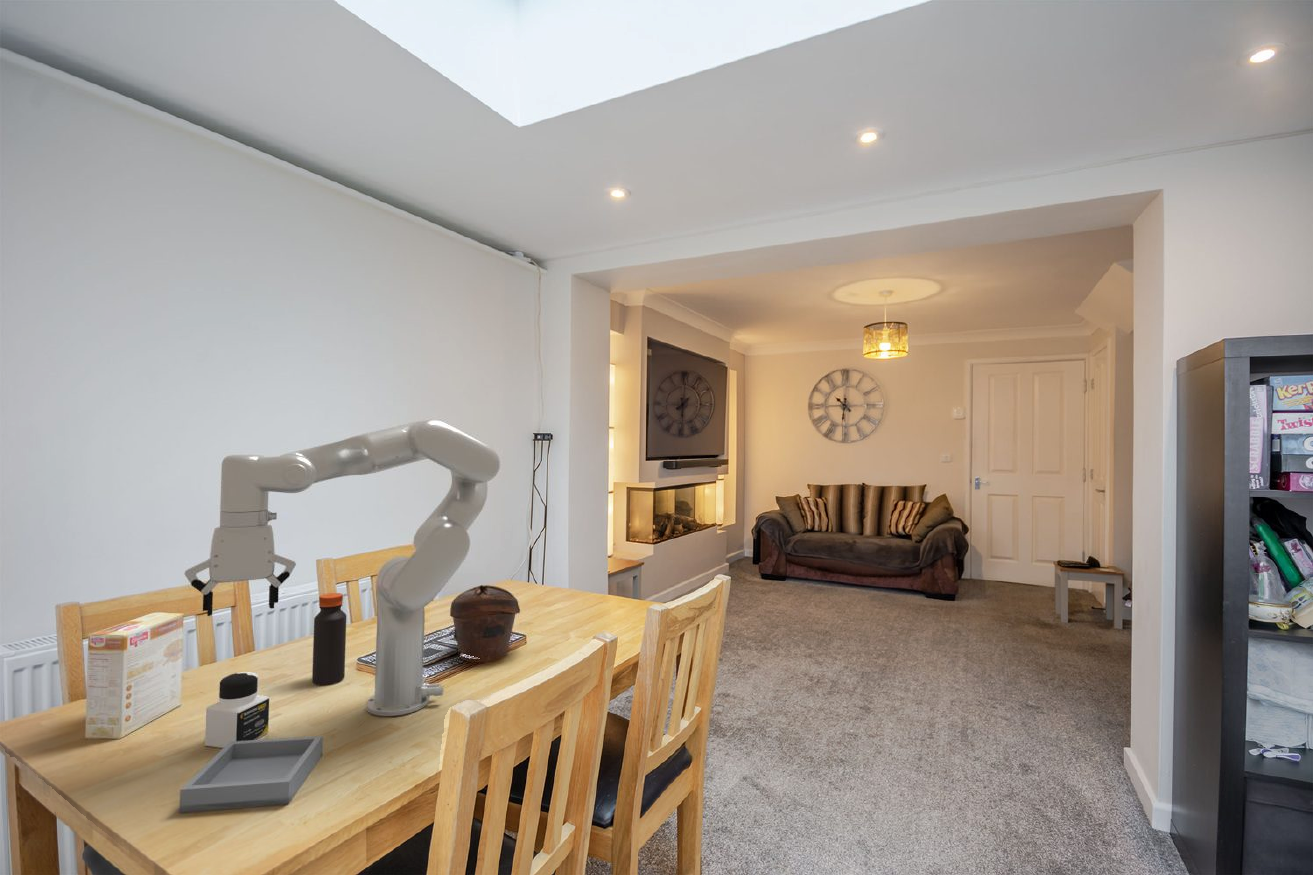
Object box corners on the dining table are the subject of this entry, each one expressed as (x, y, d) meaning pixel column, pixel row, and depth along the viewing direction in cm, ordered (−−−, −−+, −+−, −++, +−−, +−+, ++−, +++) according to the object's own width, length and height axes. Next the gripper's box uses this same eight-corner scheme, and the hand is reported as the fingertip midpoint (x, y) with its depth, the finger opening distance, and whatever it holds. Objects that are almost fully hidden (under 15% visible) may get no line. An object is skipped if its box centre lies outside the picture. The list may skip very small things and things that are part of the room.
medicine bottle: (236, 751, 109) (238, 684, 109) (203, 746, 111) (206, 680, 111) (269, 732, 116) (271, 670, 116) (238, 728, 118) (240, 666, 118)
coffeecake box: (148, 704, 127) (152, 611, 128) (182, 705, 127) (186, 612, 128) (81, 738, 112) (86, 633, 113) (120, 739, 112) (124, 634, 113)
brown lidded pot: (485, 637, 176) (486, 576, 176) (533, 652, 164) (534, 587, 164) (431, 655, 161) (433, 588, 161) (480, 673, 150) (482, 601, 150)
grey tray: (322, 755, 108) (323, 735, 109) (288, 803, 94) (289, 781, 94) (229, 761, 106) (230, 741, 106) (179, 812, 91) (180, 789, 91)
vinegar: (304, 683, 140) (307, 597, 140) (328, 673, 146) (331, 590, 147) (328, 687, 138) (331, 600, 138) (351, 676, 145) (353, 593, 145)
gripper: (295, 515, 122) (292, 600, 122) (187, 520, 112) (184, 612, 112) (299, 519, 116) (296, 608, 116) (185, 525, 106) (182, 622, 106)
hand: (241, 610), depth 114 cm, fingers open, 9 cm apart
